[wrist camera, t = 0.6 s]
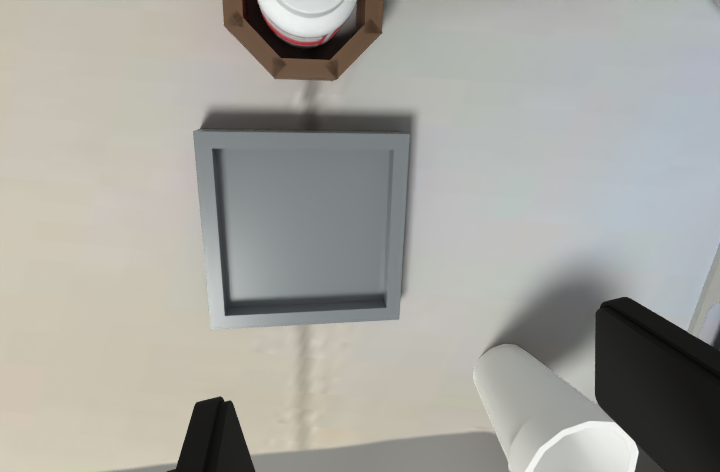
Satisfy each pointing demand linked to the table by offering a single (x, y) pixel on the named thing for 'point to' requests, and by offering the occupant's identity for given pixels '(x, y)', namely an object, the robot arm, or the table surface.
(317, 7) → the pill bottle
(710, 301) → the network device
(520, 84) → the table surface
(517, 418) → the foam cup
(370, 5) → the holder ring
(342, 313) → the tray
